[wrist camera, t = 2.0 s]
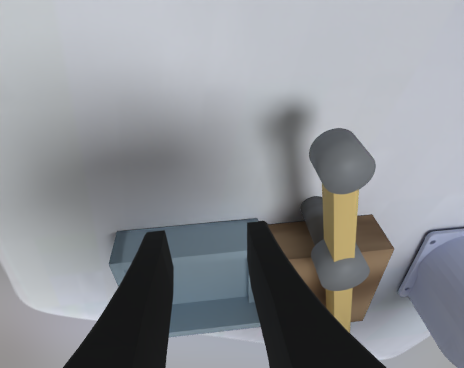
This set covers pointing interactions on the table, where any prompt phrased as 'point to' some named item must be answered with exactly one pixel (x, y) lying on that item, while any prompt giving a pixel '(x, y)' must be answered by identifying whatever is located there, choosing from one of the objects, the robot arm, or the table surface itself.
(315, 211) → the block
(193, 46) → the table surface
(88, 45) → the table surface
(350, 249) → the lever
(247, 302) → the shallow square tray
